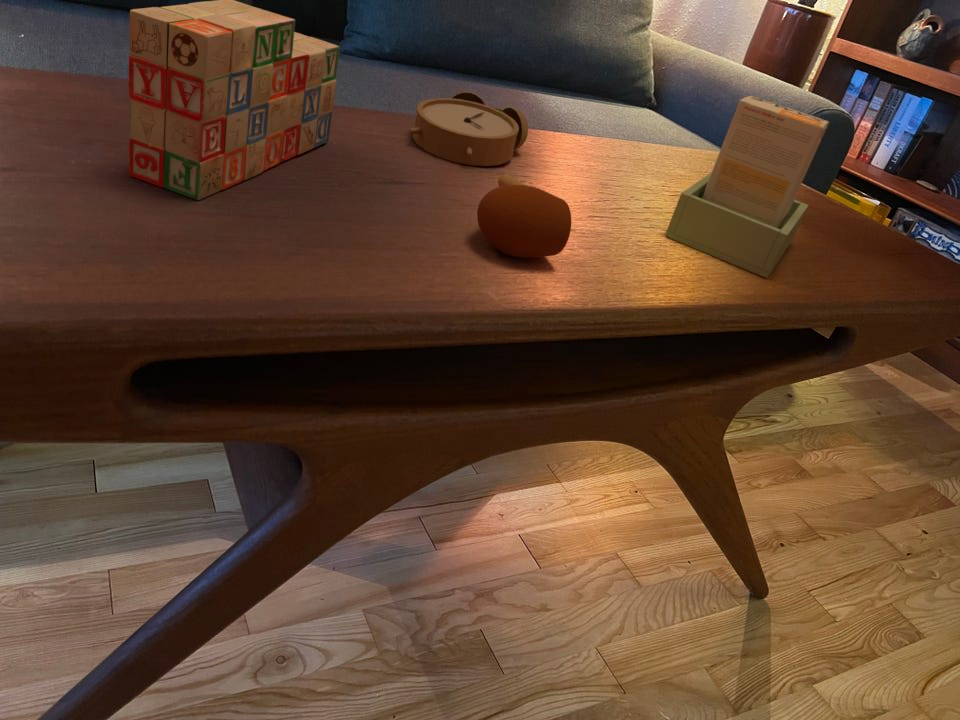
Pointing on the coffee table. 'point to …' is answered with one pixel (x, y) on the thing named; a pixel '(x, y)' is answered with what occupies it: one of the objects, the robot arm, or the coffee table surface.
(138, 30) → the stack of blocks
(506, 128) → the alarm clock
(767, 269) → the box
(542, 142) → the coffee table surface
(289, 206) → the coffee table surface
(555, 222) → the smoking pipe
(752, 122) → the supplement box
